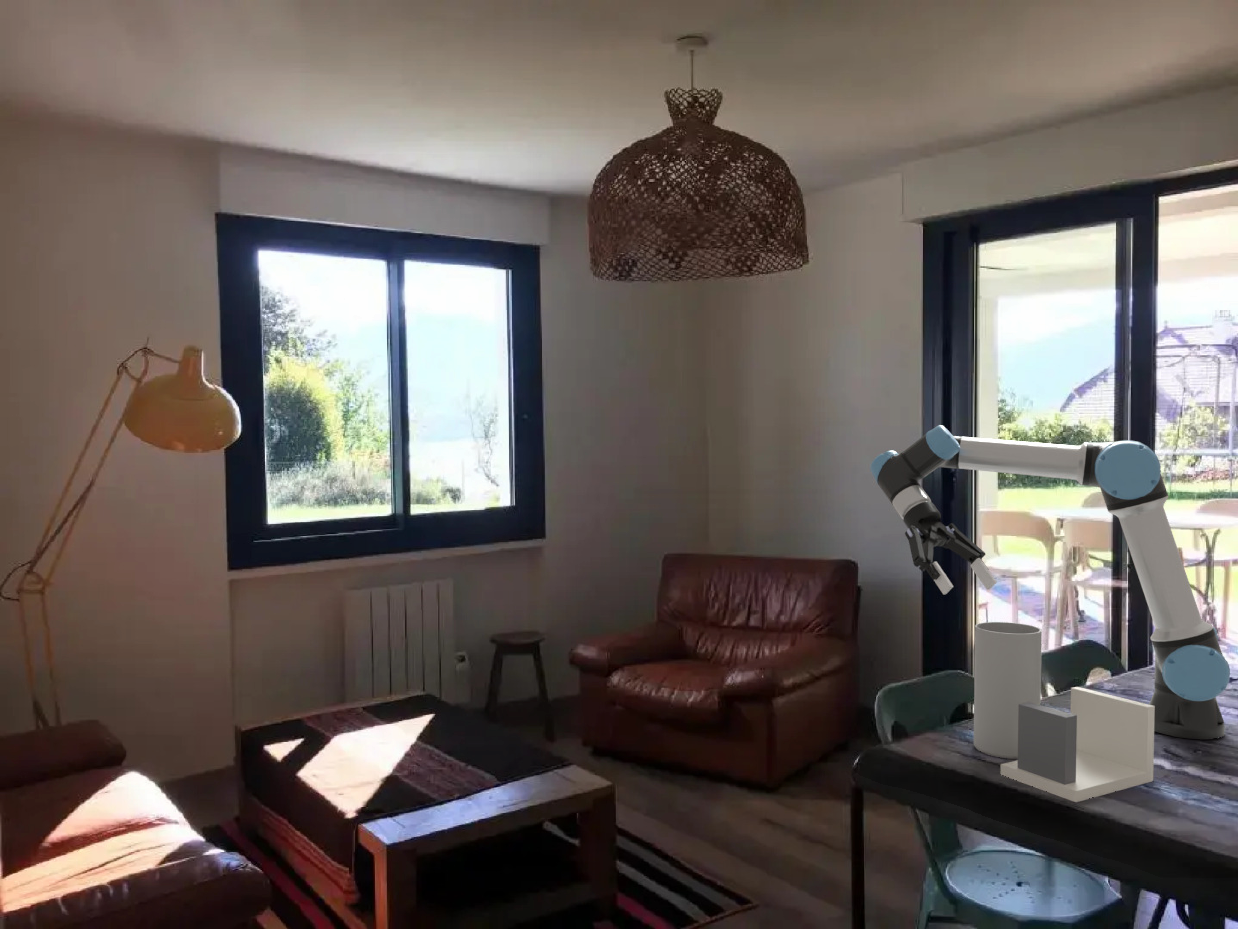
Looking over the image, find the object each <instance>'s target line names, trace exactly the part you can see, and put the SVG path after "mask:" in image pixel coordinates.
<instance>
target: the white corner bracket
mask: <svg viewBox="0 0 1238 929" xmlns="http://www.w3.org/2000/svg"><path fill="white" fill-rule="evenodd" d="M1154 713H1155V706H1153V705H1149V704H1148V703H1144V702H1141V701H1137V700H1133V699H1128V698H1125V697H1124V698H1123V697H1120V696H1115V695H1113V694H1112V695H1111V694H1108V693H1104V692H1100V691H1096V690H1093V689H1088V688H1084V687H1080V686H1075V687H1074V686H1073V687H1070V712H1067V711H1063V710H1059V709H1056V708H1052V707H1049V706H1045V705H1038V704H1035V703H1031V702H1027V703H1022V704H1019V707H1018V759H1016V760H1013V761H1009V762H1005V763H1001V764H1000V774H1001V775H1000V776H1002V775H1004V776H1003V777H1005V776H1006V777H1005V778H1008V777H1009V778H1008V779H1011V780H1013V779H1014V781H1016V780H1017V781H1016V782H1018V783H1022V784H1024V785H1027V786H1030V787H1032V786H1033V788H1036V789H1039V790H1041V791H1044V792H1046V791H1047V792H1046V793H1050V794H1052V795H1054V796H1058V797H1060V798H1063V799H1066V800H1068V801H1071V802H1074V803H1079V802H1082V801H1083V802H1084V801H1086V800H1090V799H1093V798H1092V797H1094V798H1097V797H1100V796H1101V797H1102V796H1104V795H1108V794H1112V793H1116V792H1119V791H1122V790H1126V789H1130V788H1133V787H1136V786H1140V785H1144V784H1147V783H1151V782H1154V766H1155V765H1154V758H1155V757H1154V755H1155V753H1154V752H1155V751H1154V750H1155V731H1154ZM1115 791H1116V792H1115ZM1089 798H1090V799H1089Z"/></svg>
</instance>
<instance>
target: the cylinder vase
mask: <svg viewBox="0 0 1238 929" xmlns="http://www.w3.org/2000/svg"><path fill="white" fill-rule="evenodd" d="M974 626H975V627H974V628H975V629H974V631H975V632H974V694H973V696H974V697H973V699H974V701H973V745H974V748H975V749H976V750H978V751H979V752H980V751H981V752H980V753H982V754H985V755H987V754H988V756H990V755H991V757H994V756H995V758H999V757H1000V758H1001V759H1006V758H1007V759H1008V760H1018V707H1019V704H1022V703H1027V702H1031V703H1035V704H1038V705H1041V701H1042V700H1041V699H1042V698H1041V696H1042V691H1041V689H1042V646H1043V645H1042V644H1043V643H1042V639H1043V638H1042V637H1043V636H1042V635H1043V631H1042V629H1041V628H1040V627H1037V626H1035V625H1032V624H1027V623H1026V624H1024V623H1020V622H1008V621H1007V622H1006V621H987V622H979V623H976V624H975V625H974ZM1000 758H999V759H1000Z"/></svg>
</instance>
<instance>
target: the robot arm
mask: <svg viewBox="0 0 1238 929" xmlns="http://www.w3.org/2000/svg"><path fill="white" fill-rule="evenodd" d="M869 468H870V473H871V474H872V477H873V478H874V479H875V482H876V484H877V485H878V486H879V487H880V489H881V490H882V492H883V493H884V495H885V496H886V498H887V499H888V501H889V502H890V503H891V506H893V507H894V509H895V510H896V512H897V513H898V515H899V517H900V519H902V520H903V523H904V525H905V526H906V527H907V530H906V531H905V532H904V535H905V537H906V538H907V541H908V543H909V544H908V545H909V548H910V554H911V557H912V562H913V566H915V567H917V568H919V571H922V572H925V570H926V572H927V574H928V575H929V576H930V578H931V579H932V580H933V582H935V585H936V586H937V587H938V589H939V590H940V592H941V593H942V595H947V594H948V593H949V592H950V591H951V590H952V589H953V588H954V585H953V583H952V582H951V580H950V579H949V577H948V576H947V574H946V573H945V572H944V570H943V569H942V567H941V565H940V564H939V563H938V561H933V560H934V547H942V548H943V549H949V550H951V551H952V552H954V553H955V554H956V555H958V556H960V557H961V558H962V559H964V560H966V561H967V562H968V563H970V568H971V569H972V571H973V572H974V573H975V575H976V576H977V578H978V579H979V581H980V582H981V583H982V585H983V586H984V588H985V590H987V591H990V590H991V589H992V588H993V587H994V586H995V585H996V584H997V583H998V581H997V580H996V578H995V577H994V576H993V574H992V573H991V571H990V570H989V568H988V567H987V565H986V564H985V562H984V561H983V558H984V557H985V556H986V552H985V551H984V550H983V549H981V547H979V546H978V545H976V544H975V543H974V542H973V541H972V540H970V538H968V537H967V536H966V535H965V534H963V532H961V531H960V530H959V529H958V527H957V526H956V525H955V524H954V523H952V522H951V523H949V525H947V526H946V525H945V524H943V523H942V522H941V517H942V515H941V513H940V511H939V510H938V509H937V506H936V505H935V503H933V502H932V499H931V498H930V497H929V495H928V493H926V491H925V490H924V488H923V487H922V486H921V484H920V483H919V482H920V481H921V480H923V479H924V478H926V477H927V476H929V474H931V473H932V472H934V471H935V470H937V469H938V468H945V469H946V468H947V469H961V470H963V469H964V470H972V471H980V472H993V473H1001V474H1002V473H1003V474H1011V475H1012V474H1014V475H1024V476H1033V477H1034V476H1035V477H1045V478H1055V479H1065V480H1073V481H1077V482H1078V484H1079V485H1082V486H1089V487H1096V488H1099V489H1100V491H1101V495H1102V497H1103V500H1104V503H1105V506H1106V509H1107V512H1108V513H1109V514H1112V515H1114V516H1116V517H1117V518H1118V520H1119V522H1120V526H1121V529H1122V532H1123V534H1124V538H1125V540H1126V543H1127V546H1128V550H1129V553H1130V556H1131V558H1132V561H1133V564H1134V568H1135V571H1136V574H1137V576H1138V579H1139V583H1140V586H1141V589H1142V592H1143V594H1144V597H1145V601H1146V603H1147V607H1148V609H1149V612H1150V615H1151V618H1152V621H1153V624H1154V627H1155V628H1154V631H1153V632H1152V634H1151V636H1150V640H1151V644H1152V647H1153V650H1154V652H1155V653H1154V691H1153V693H1152V695H1151V698H1150V701H1149V705H1153V706H1155V713H1154V732H1156V733H1159V734H1163V735H1166V736H1170V737H1171V736H1172V737H1176V738H1183V739H1191V740H1214V739H1213V738H1217V739H1219V738H1218V737H1221V736H1223V737H1225V735H1224V734H1226V724H1225V721H1224V718H1223V715H1222V712H1221V709H1220V706H1219V702H1218V700H1217V697H1218V696H1220V695H1221V694H1223V692H1224V691H1225V690H1226V688H1227V687H1228V686H1229V682H1230V678H1231V677H1230V676H1231V668H1230V664H1229V662H1228V661H1227V660H1226V658H1225V656H1224V655H1223V652H1222V649H1221V646H1220V642H1219V637H1218V630H1217V629H1216V628H1215V627H1214V626H1213V624H1211V623H1209V622H1207V621H1205V620H1203V619H1202V617H1201V614H1200V611H1199V608H1198V605H1197V601H1196V600H1195V596H1194V594H1193V591H1192V587H1191V584H1190V582H1189V578H1188V576H1187V572H1186V570H1185V566H1184V563H1183V561H1182V557H1181V555H1180V551H1179V548H1178V546H1177V542H1176V541H1175V537H1174V534H1173V531H1172V529H1171V526H1170V523H1169V520H1168V516H1167V514H1166V511H1165V509H1164V506H1165V504H1166V502H1167V500H1168V499H1169V494H1168V491H1167V488H1166V485H1165V482H1164V479H1163V476H1162V471H1161V468H1162V467H1161V462H1160V460H1159V457H1158V456H1157V455H1156V453H1155V452H1154V451H1153V449H1152V448H1150V447H1149V446H1148V445H1146V444H1144V443H1142V442H1140V441H1135V440H1132V439H1131V440H1129V439H1128V440H1127V439H1123V440H1118V441H1117V440H1116V441H1111V442H1110V441H1109V442H1090V441H1084V442H1083V443H1081V444H1080V445H1069V444H1060V443H1059V444H1056V443H1043V442H1035V441H1034V442H1033V441H1031V442H1030V441H1022V440H1021V441H1019V440H1008V439H994V438H984V437H983V438H981V437H969V436H959V435H958V436H956V435H953V434H952V433H951V432H950V431H949V430H948V428H946V427H945V425H941V424H939V425H937V426H935V427H933V428H932V429H930V430H928V431H927V432H926V433H925V434H924V435H923V436H921V437H920V438H918V439H917V440H916V441H915V442H914V443H912V444H911V445H910V446H909V447H907V448H906V449H905V450H903V451H901V452H900V453H898V452H897V451H895V450H888V451H885V452H884V453H879V455H877V456H876V457H875V458H874V459H873V460H872V462H870V466H869ZM1221 738H1222V737H1221Z"/></svg>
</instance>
